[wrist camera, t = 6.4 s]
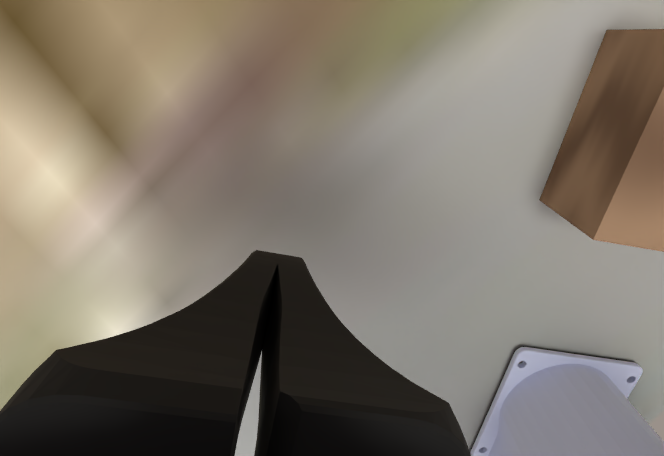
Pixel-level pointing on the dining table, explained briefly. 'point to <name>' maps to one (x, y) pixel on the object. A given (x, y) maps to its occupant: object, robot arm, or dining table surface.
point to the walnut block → (616, 146)
